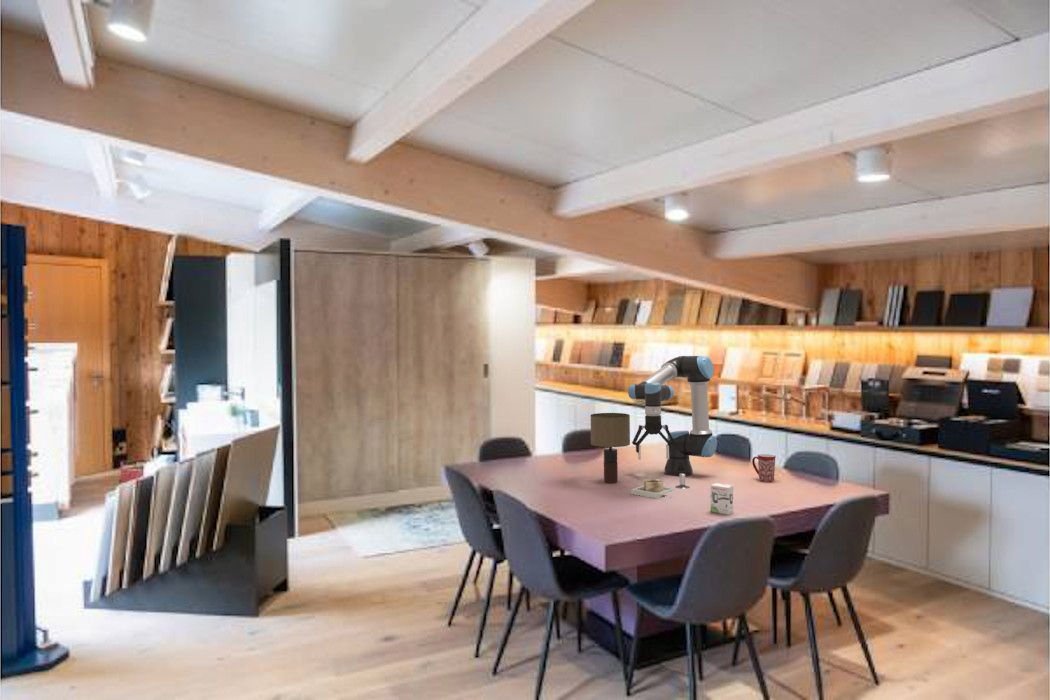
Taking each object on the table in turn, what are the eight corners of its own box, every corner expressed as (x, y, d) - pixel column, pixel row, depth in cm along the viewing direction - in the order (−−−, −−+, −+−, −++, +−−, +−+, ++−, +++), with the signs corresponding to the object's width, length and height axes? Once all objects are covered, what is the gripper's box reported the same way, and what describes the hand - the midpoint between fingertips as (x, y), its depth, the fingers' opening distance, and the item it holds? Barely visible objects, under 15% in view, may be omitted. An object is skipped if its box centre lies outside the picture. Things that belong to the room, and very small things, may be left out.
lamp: (593, 477, 384) (592, 412, 383) (631, 478, 380) (630, 413, 379) (589, 485, 364) (588, 417, 363) (629, 486, 360) (628, 417, 359)
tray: (631, 494, 344) (631, 489, 344) (649, 488, 354) (649, 484, 354) (657, 498, 333) (657, 493, 333) (675, 493, 344) (675, 488, 344)
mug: (779, 481, 368) (779, 455, 368) (769, 483, 363) (769, 457, 363) (758, 477, 379) (758, 451, 378) (748, 479, 373) (747, 453, 373)
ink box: (710, 511, 308) (709, 484, 308) (715, 509, 312) (715, 482, 311) (728, 515, 302) (728, 487, 302) (733, 512, 306) (733, 485, 306)
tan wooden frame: (646, 493, 340) (646, 483, 340) (643, 489, 349) (643, 479, 349) (663, 493, 340) (663, 482, 340) (659, 489, 349) (659, 478, 349)
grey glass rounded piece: (672, 490, 351) (672, 473, 351) (680, 487, 356) (680, 471, 356) (684, 492, 346) (684, 475, 346) (692, 489, 351) (692, 473, 351)
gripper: (628, 416, 339) (628, 460, 340) (680, 415, 339) (681, 459, 340) (625, 414, 347) (626, 458, 347) (677, 413, 347) (677, 457, 347)
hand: (653, 459), depth 344 cm, fingers open, 13 cm apart
